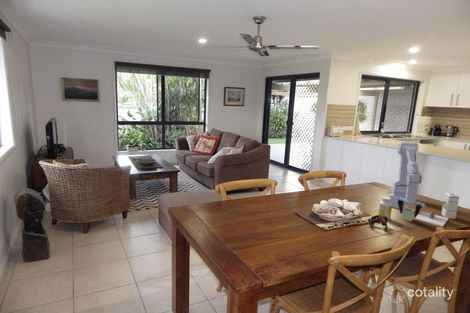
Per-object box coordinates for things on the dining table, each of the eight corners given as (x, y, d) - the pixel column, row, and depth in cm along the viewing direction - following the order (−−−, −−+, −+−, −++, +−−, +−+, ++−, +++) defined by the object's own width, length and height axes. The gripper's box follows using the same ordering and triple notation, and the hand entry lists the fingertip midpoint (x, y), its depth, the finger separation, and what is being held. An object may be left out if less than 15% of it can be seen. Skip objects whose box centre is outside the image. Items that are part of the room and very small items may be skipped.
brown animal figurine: (384, 234, 150) (377, 220, 151) (369, 235, 159) (362, 221, 159) (395, 224, 156) (388, 210, 157) (380, 225, 165) (374, 212, 165)
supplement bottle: (389, 217, 173) (392, 197, 171) (391, 221, 167) (394, 200, 165) (377, 215, 175) (379, 195, 173) (378, 219, 169) (381, 198, 167)
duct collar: (401, 218, 171) (403, 209, 170) (404, 216, 175) (405, 207, 174) (410, 221, 168) (412, 212, 167) (413, 219, 171) (414, 209, 170)
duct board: (414, 219, 171) (415, 212, 170) (421, 212, 182) (422, 206, 181) (442, 227, 161) (444, 219, 161) (448, 219, 173) (449, 212, 172)
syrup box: (455, 219, 174) (460, 196, 171) (444, 218, 175) (449, 195, 172) (450, 215, 180) (455, 193, 177) (440, 214, 181) (444, 192, 178)
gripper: (396, 191, 170) (392, 213, 173) (424, 197, 160) (420, 220, 163) (399, 189, 175) (396, 210, 178) (427, 195, 165) (423, 217, 168)
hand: (408, 215), depth 171 cm, fingers open, 7 cm apart
